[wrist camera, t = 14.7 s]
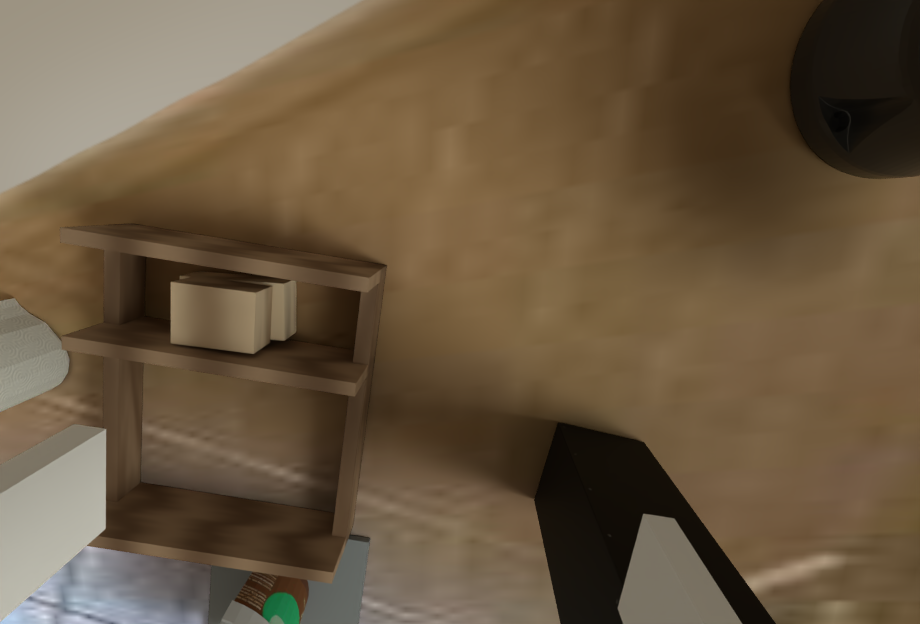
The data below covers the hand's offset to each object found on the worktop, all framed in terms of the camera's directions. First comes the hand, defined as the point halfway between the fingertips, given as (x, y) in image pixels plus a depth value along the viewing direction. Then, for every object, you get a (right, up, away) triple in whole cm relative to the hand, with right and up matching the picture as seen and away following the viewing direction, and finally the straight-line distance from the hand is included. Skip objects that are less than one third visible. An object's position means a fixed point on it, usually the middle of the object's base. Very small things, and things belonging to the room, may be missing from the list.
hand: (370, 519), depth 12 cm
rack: (-16, -1, +30) cm, 34 cm away
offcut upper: (-15, +5, +26) cm, 30 cm away
